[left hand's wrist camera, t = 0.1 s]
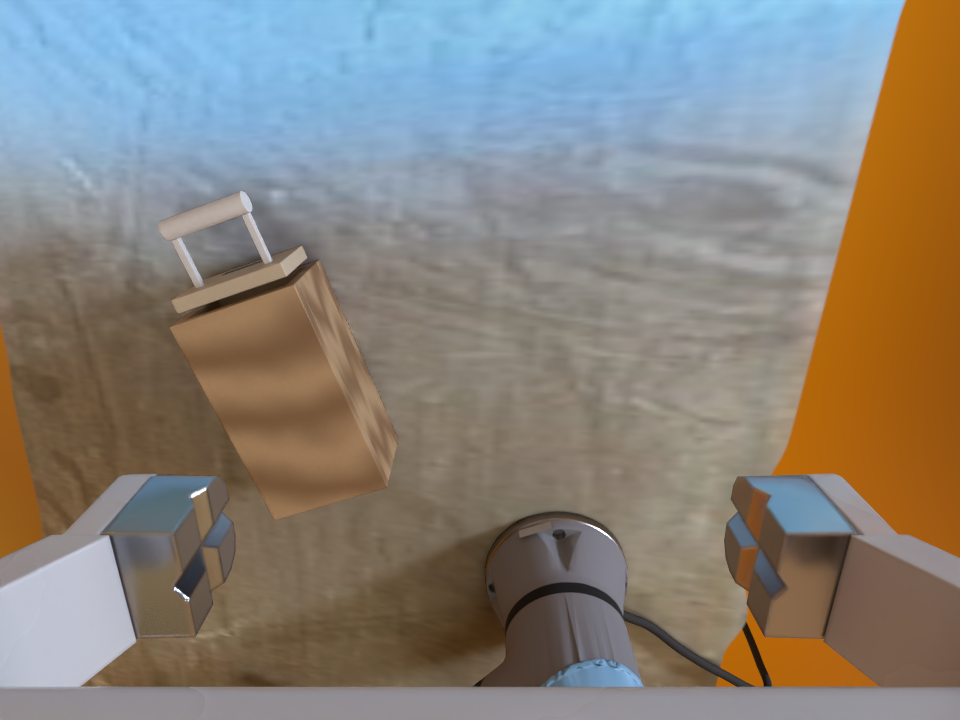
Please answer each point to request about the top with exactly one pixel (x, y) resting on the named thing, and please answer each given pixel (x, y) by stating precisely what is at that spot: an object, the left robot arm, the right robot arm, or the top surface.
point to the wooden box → (292, 391)
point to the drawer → (235, 278)
